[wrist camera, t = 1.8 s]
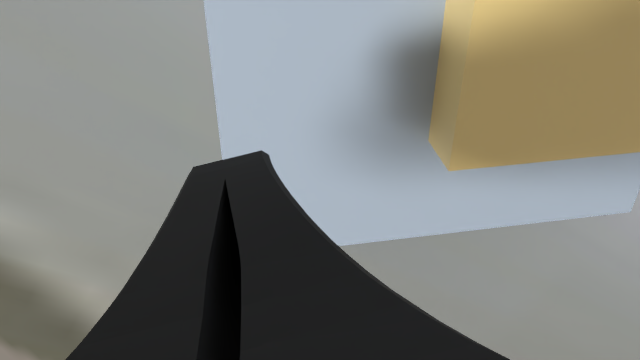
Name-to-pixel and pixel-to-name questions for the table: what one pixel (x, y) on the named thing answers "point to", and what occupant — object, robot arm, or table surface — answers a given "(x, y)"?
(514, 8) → the yellow flat piece
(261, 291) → the robot arm
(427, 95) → the light blue flat slab
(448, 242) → the table surface
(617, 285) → the table surface
